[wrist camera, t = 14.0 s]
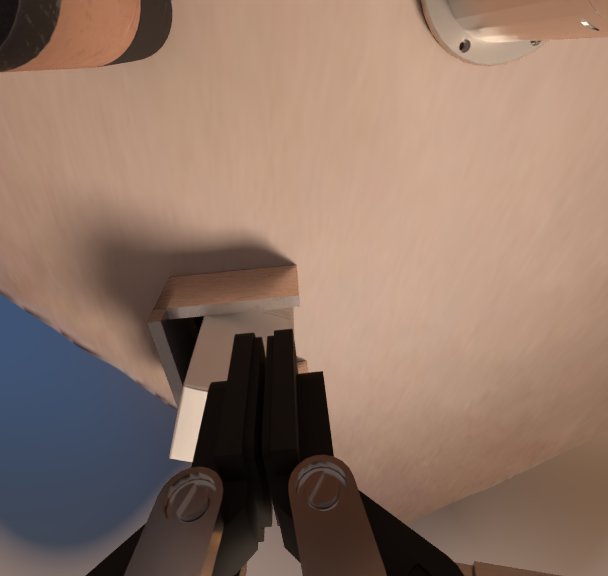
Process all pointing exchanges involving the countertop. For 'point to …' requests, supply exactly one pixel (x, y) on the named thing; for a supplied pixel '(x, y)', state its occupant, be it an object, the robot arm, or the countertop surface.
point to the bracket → (214, 310)
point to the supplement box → (217, 366)
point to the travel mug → (80, 32)
